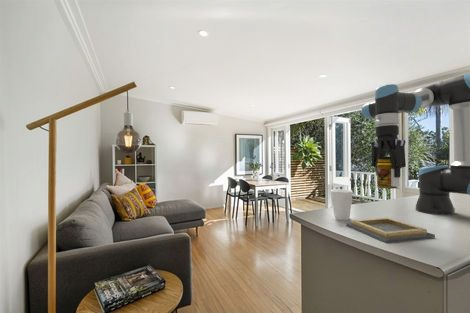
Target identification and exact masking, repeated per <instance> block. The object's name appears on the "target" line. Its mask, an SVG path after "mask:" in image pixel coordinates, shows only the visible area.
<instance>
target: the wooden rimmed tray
mask: <svg viewBox="0 0 470 313" xmlns="http://www.w3.org/2000/svg"><path fill="white" fill-rule="evenodd" d="M345 226H346V227H347V228H350V229H353V230H355V231H358V232H360V233H362V234H365V235H367V236H369V237H371V238H374V239H376V240H379V241H381V242H384V243H386V244H387V243H397V242H405V241H406V242H407V241H414V240H415V241H416V240H424V239H435V238H436V235H435V234H434V233H430V232H428V229H427V228H423V227H420V226H416V225H412V224H410V223H406V222H402V221H399V220H396V219H393V218H389V217H380V218H379V217H378V218H368V219H367V218H366V219H365V218H364V219H357V220H356V219H355V220H354V219H353V220H351V222H349V223H346V224H345Z"/></svg>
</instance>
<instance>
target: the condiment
mask: <svg viewBox="0 0 470 313" xmlns="http://www.w3.org/2000/svg"><path fill="white" fill-rule="evenodd" d="M392 167H393V166H392V162H391V159H390V156H385V157H378V164H377V176H376V185H374V186H375V188H376V189H389V190H390V189H392V190H393V189H400V187H399V186H391V169H392Z"/></svg>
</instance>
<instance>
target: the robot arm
mask: <svg viewBox="0 0 470 313" xmlns="http://www.w3.org/2000/svg"><path fill="white" fill-rule="evenodd" d="M446 105H447V106H448V108H450V109H451V110H452V114H453V116H452V117H453V119H452V120H453V145H454V146H453V150H454V151H453V153H454V154H453V155H454V157H453V159H454V161H453V162H452V163H450V165H447V164H446V165H445V164H443V165H433V166H432V165H431V166H422V167H420V168H419V170H418V184H419V186H418V187H419V191H418V192H419V196H418V199H417V201H416V204H415V211H418V212H421V213H423V214H424V213H425V214H432V215H444V216H445V215H448V216H449V215H455V213H456V208H455V207H454V203H453V202H452V200H451V197H450V195H451V194H458V195H459V194H461V195H469V196H470V73H465V74H463V75H459V76H456V77H453V78H449V79H448V78H447V79H445V80H442V81H439V82H438V81H437V82H435V83H433V84H430V85H428V86H425V87H421V88H418V89H417V90H416V91H413V92H412V91H411V92H409V93H408V92H400V91H399V86H398V85H397V84H394V83H393V84H392V83H391V84H384V85H381V86H378V87H376V89H375V93H374V101H369V102H367V103H365V104H364V105H363V106H362V107H361V113H362V114H361V115H362V116H363V117H364V118H365V119H368V120H370V119H375V126H376V127H375V136H376V137H377V138H376V141H374V142H371V144H370V145H371V167H374V168H375V175H376V177H377V164H378V157H386V153H387V152H388V154H389V155H388V156H389V157H390V159H391V162H392V166H393V167H392V169H391V186H396V187H400V178H401V169H402V168H406V153H405V152H406V151H405V145H406V140H405V139H399V138H398V135H399V132H400V130H399V128H400V126H398V125H399V114H401V113H402V114H403V113H404V114H405V113H406V114H410V113H415V112H418V111H419V110H420V109H421V108H427V107H428V108H429V107H437V106H446Z"/></svg>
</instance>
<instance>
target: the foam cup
mask: <svg viewBox="0 0 470 313" xmlns="http://www.w3.org/2000/svg"><path fill="white" fill-rule="evenodd" d="M353 194H354V193H353V190H352V189H346V188H345V189H343V188H336V189H335V188H334V189H330V196H331V202H332V208H333V214H334V218H335V219H336V220H339V221H347V220H350V218H351V208H352V202H353Z"/></svg>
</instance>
